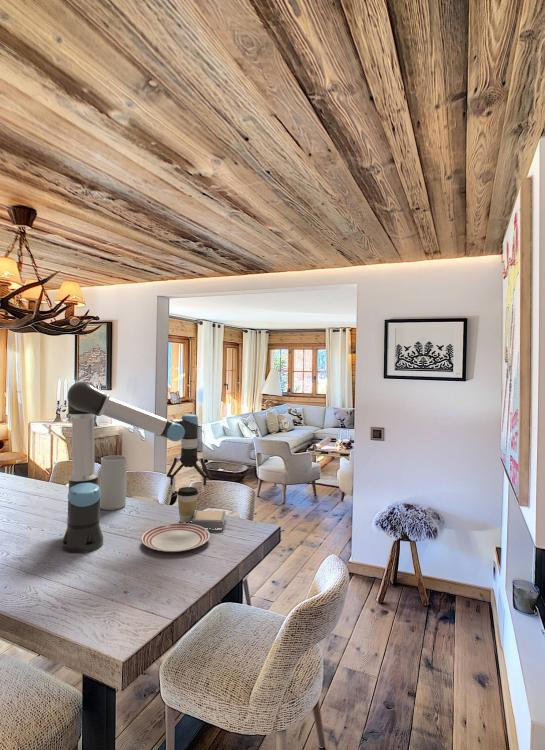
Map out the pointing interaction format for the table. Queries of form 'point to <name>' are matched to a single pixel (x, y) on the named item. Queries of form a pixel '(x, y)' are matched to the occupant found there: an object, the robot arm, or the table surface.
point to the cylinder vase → (113, 482)
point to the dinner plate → (175, 537)
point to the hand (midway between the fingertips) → (188, 492)
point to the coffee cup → (187, 503)
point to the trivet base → (209, 519)
